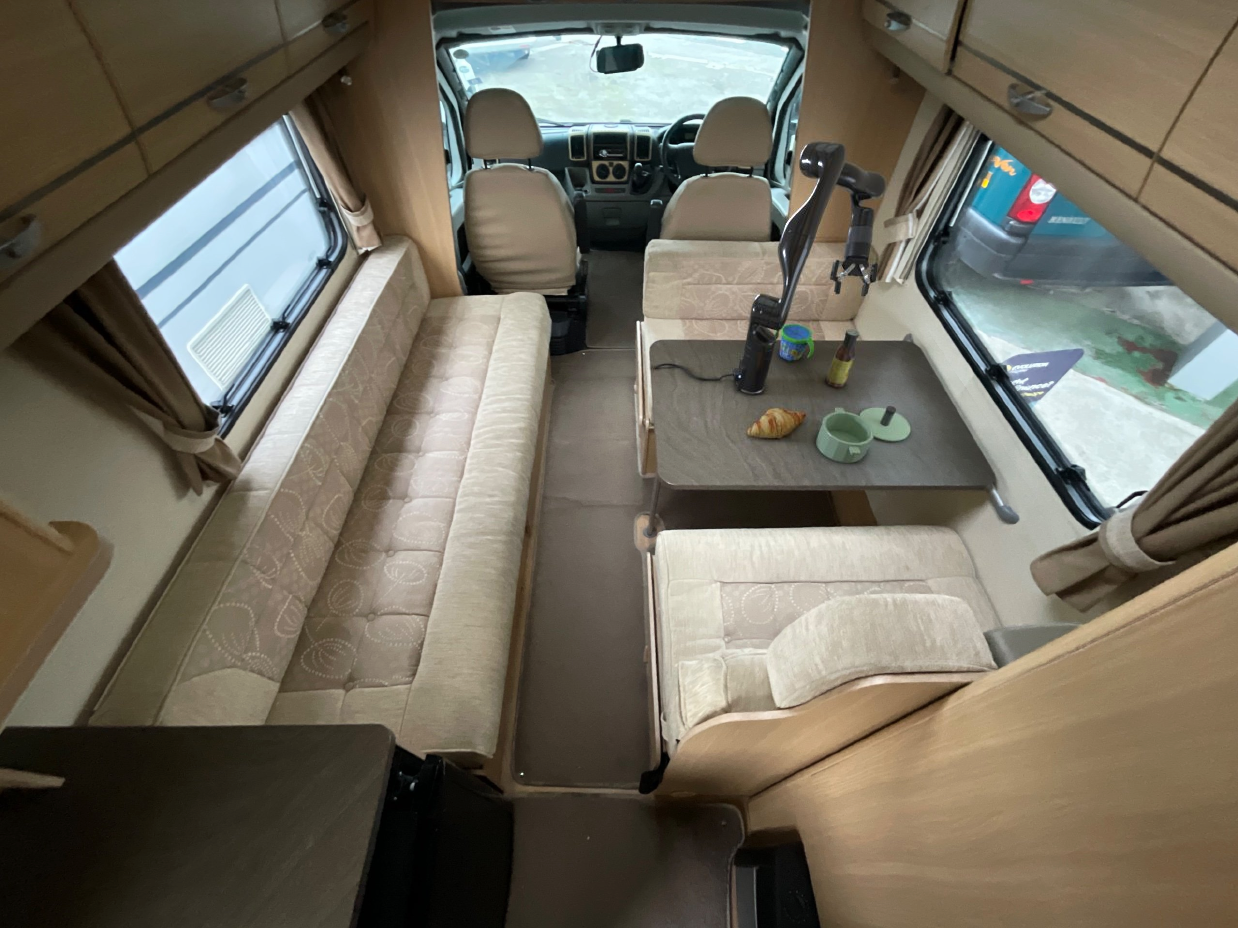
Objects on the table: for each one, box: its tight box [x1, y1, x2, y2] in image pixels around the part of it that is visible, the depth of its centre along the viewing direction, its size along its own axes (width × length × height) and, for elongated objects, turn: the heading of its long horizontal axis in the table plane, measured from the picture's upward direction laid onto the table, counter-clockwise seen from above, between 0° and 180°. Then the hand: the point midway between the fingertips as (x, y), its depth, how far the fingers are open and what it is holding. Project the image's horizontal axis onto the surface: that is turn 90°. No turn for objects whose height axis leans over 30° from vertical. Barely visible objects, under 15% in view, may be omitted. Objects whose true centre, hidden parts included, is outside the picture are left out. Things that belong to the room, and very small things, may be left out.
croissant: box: [746, 407, 807, 439], centre depth 173 cm, size 21×10×8 cm
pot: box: [815, 407, 874, 464], centre depth 168 cm, size 15×20×8 cm
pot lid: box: [858, 405, 911, 442], centre depth 175 cm, size 16×16×7 cm
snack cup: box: [773, 323, 815, 362], centre depth 200 cm, size 16×10×10 cm
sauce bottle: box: [826, 328, 860, 388], centre depth 186 cm, size 7×6×20 cm
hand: (850, 295), depth 183 cm, fingers open, 8 cm apart
